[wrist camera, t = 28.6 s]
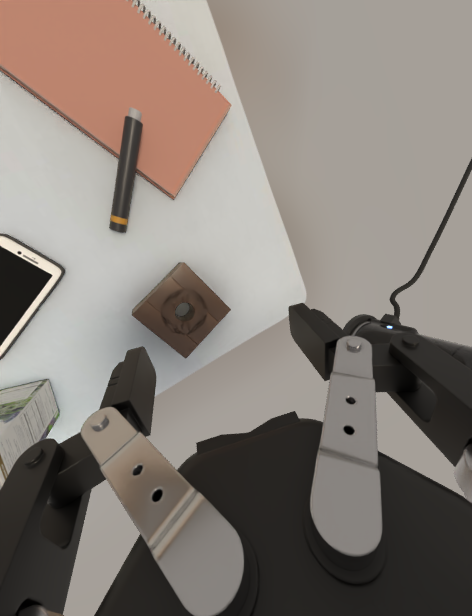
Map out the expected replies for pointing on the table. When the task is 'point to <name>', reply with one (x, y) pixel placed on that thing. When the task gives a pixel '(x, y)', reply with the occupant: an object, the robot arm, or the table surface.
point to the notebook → (114, 79)
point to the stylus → (126, 170)
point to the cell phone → (22, 287)
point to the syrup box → (24, 420)
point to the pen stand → (190, 327)
